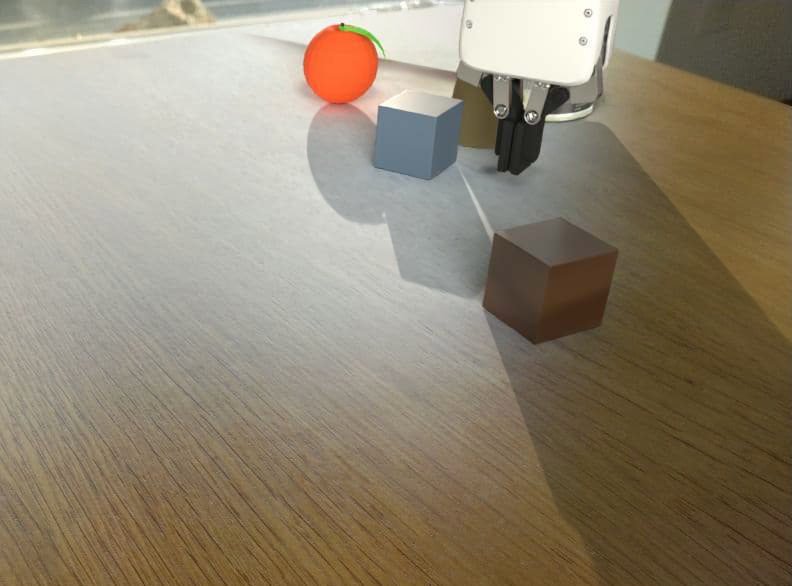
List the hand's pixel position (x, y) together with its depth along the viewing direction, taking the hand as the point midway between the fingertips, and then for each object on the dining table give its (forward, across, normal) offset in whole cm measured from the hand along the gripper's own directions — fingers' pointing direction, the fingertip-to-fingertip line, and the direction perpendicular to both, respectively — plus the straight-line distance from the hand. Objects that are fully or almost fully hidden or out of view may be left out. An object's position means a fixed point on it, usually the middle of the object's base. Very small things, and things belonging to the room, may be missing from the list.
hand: (514, 167), depth 75 cm
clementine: (+2, +21, -10) cm, 23 cm away
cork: (+2, +7, -9) cm, 11 cm away
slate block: (+1, +8, 0) cm, 8 cm away
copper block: (+2, -9, +18) cm, 20 cm away
